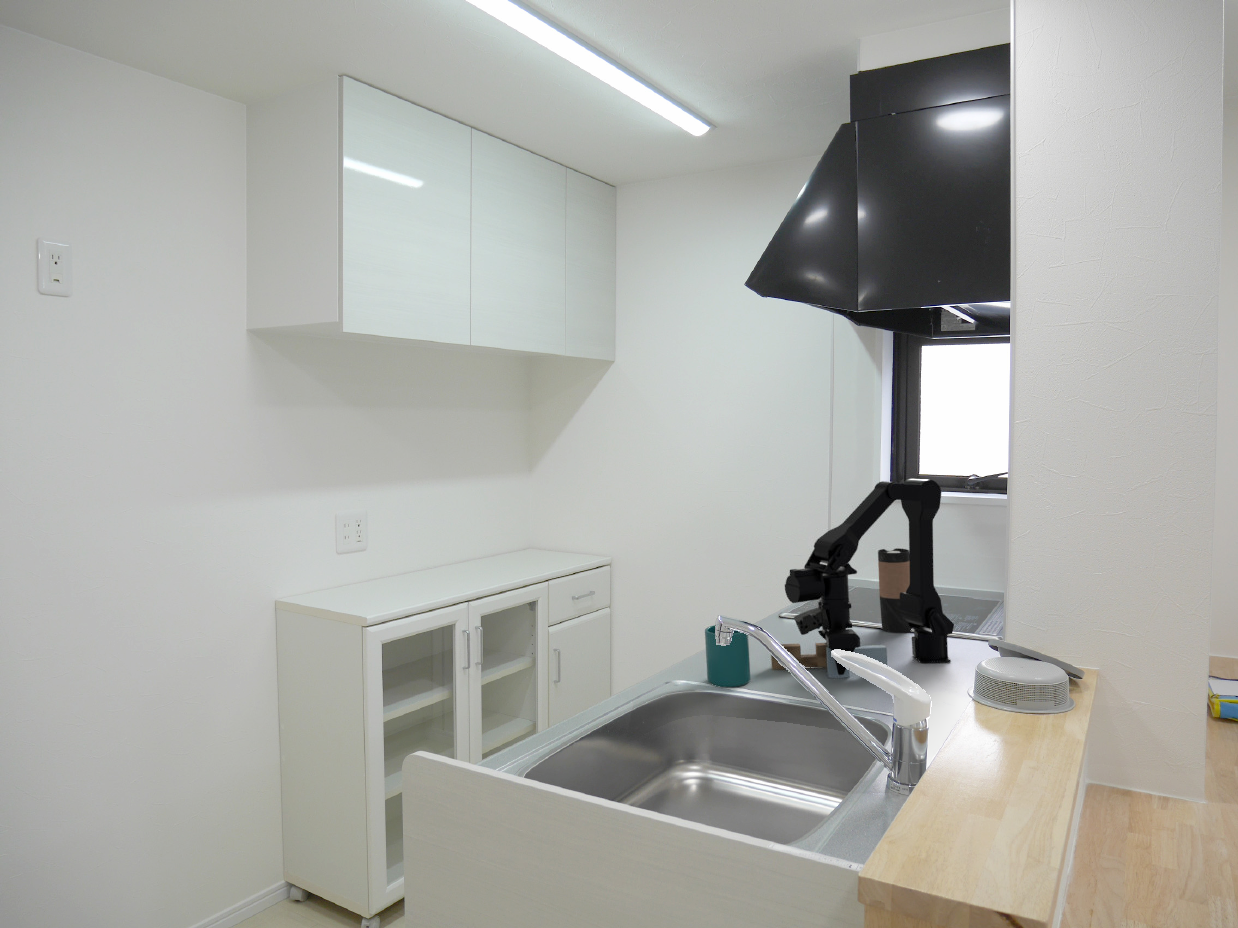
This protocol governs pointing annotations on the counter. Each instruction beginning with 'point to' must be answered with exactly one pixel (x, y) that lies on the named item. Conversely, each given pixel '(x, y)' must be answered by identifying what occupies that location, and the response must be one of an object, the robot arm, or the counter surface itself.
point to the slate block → (870, 651)
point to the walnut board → (804, 656)
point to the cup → (727, 660)
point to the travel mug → (893, 588)
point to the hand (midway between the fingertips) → (838, 670)
